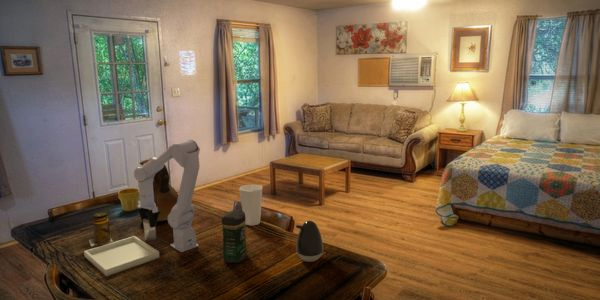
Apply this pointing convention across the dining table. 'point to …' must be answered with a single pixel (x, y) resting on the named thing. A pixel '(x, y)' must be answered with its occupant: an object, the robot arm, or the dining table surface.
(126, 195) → the plant pot
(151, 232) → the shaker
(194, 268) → the dining table surface
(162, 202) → the ceramic pitcher
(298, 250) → the pump dispenser
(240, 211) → the green squeeze bottle
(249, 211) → the cup
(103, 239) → the condiment
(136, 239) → the tray
